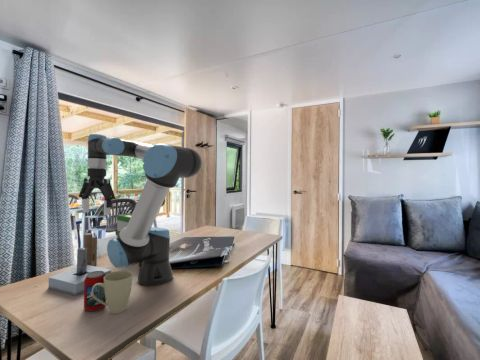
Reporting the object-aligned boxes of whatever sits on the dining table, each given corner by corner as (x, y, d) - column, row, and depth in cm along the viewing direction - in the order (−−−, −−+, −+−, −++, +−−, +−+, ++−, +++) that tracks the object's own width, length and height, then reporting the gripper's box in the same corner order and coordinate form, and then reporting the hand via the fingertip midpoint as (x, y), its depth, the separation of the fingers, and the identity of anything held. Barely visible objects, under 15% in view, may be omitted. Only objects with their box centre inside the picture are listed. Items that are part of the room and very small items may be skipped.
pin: (88, 280, 105) (89, 248, 105) (80, 283, 101) (81, 250, 101) (82, 279, 106) (83, 247, 106) (74, 282, 103) (75, 249, 103)
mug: (117, 300, 91) (118, 268, 91) (137, 306, 87) (138, 273, 87) (89, 315, 81) (90, 279, 81) (110, 323, 77) (111, 285, 77)
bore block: (110, 279, 108) (111, 269, 108) (75, 295, 93) (75, 284, 93) (85, 274, 114) (85, 264, 114) (48, 288, 99) (48, 277, 99)
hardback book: (146, 259, 136) (147, 216, 135) (134, 263, 130) (134, 218, 129) (128, 253, 146) (129, 213, 145) (116, 256, 140) (117, 214, 139)
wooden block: (96, 264, 127) (97, 229, 127) (90, 271, 117) (91, 234, 117) (88, 264, 126) (89, 230, 126) (82, 272, 116) (82, 235, 115)
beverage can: (89, 314, 81) (90, 279, 81) (79, 308, 85) (80, 274, 84) (109, 306, 87) (110, 272, 87) (99, 300, 90) (100, 268, 90)
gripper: (124, 168, 112) (123, 214, 112) (85, 168, 121) (84, 210, 121) (110, 167, 105) (109, 216, 105) (70, 167, 113) (69, 212, 114)
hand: (96, 213), depth 113 cm, fingers open, 13 cm apart
